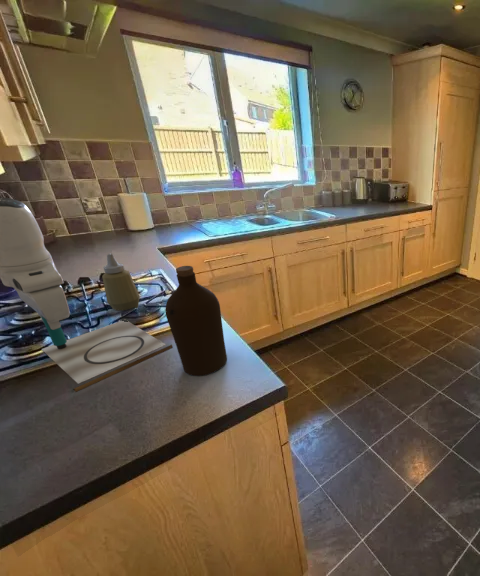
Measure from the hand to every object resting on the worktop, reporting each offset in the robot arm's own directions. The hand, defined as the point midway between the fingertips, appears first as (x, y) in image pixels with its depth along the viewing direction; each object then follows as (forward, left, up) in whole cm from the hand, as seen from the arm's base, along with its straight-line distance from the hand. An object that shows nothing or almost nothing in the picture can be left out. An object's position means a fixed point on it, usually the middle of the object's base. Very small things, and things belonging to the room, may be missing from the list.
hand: (52, 325), depth 79 cm
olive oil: (+33, +17, -8) cm, 38 cm away
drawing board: (+8, +6, -7) cm, 12 cm away
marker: (0, 0, -6) cm, 6 cm away
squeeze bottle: (-12, +19, -8) cm, 24 cm away
